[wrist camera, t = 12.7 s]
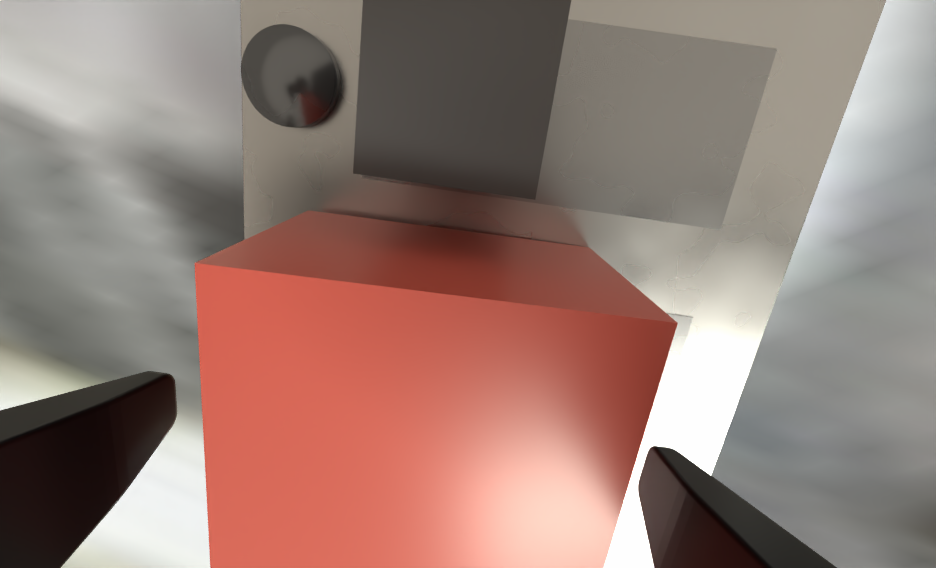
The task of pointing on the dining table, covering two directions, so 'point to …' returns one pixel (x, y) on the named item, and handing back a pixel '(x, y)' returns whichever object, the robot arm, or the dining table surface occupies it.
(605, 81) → the panel
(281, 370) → the cap
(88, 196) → the dining table surface
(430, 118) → the block
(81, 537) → the robot arm
